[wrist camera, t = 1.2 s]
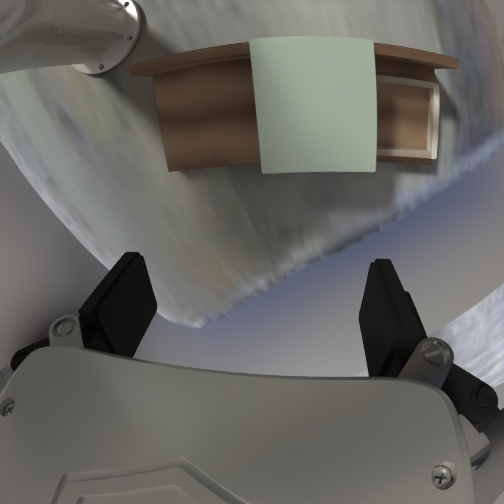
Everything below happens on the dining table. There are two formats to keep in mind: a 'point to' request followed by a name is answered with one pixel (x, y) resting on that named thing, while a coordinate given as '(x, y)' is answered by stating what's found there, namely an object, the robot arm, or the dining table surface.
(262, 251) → the dining table surface
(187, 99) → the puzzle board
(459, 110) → the dining table surface
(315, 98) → the sliding cover
